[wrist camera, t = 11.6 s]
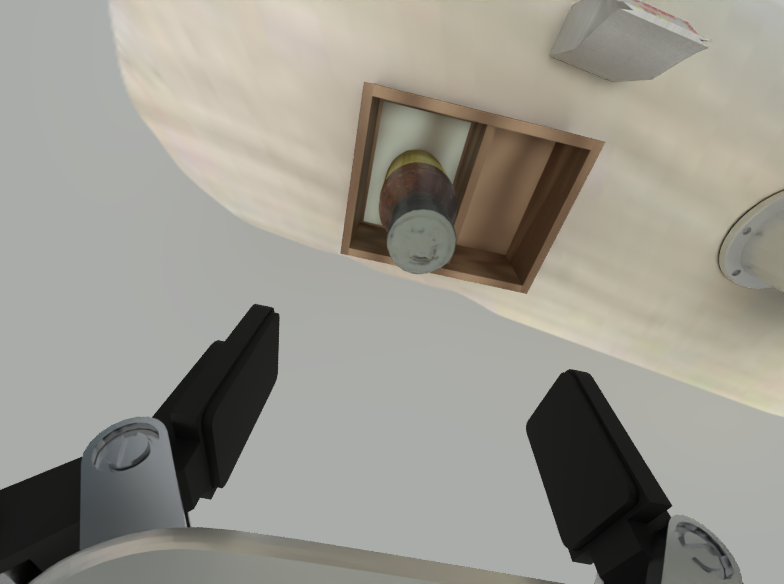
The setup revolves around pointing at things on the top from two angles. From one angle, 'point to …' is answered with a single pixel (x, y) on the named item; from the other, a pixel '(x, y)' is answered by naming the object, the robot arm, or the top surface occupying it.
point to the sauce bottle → (418, 212)
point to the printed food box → (624, 40)
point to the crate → (470, 182)
